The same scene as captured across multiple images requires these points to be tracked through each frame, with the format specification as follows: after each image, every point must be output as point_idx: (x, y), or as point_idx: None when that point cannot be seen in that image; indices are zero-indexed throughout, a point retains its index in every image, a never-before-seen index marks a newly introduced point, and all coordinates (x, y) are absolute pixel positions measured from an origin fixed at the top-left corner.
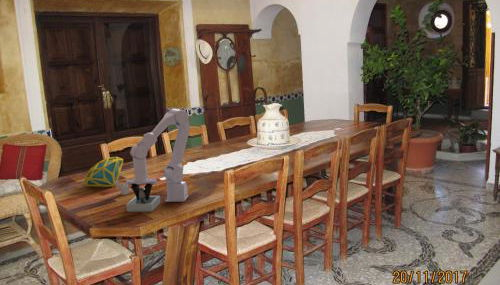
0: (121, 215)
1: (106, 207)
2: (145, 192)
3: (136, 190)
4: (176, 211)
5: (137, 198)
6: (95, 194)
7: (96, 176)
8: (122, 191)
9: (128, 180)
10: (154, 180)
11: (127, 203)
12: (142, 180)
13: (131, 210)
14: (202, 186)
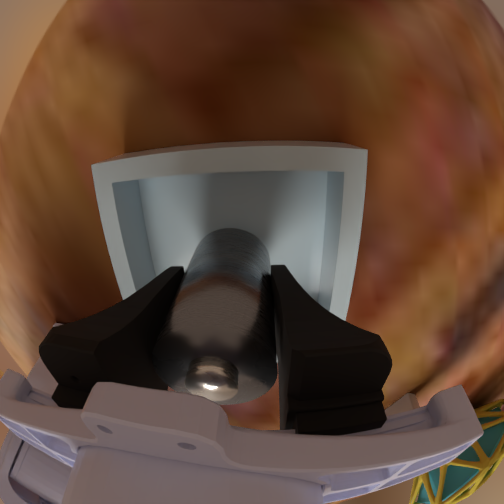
0: (355, 63)
1: (480, 241)
2: (166, 318)
3: (284, 326)
4: (11, 185)
5: (280, 269)
6: (488, 371)
7: (493, 431)
8: (413, 405)
9: (440, 460)
10: (13, 425)
11: (363, 181)
12: (84, 473)
13: (304, 141)
14: None
